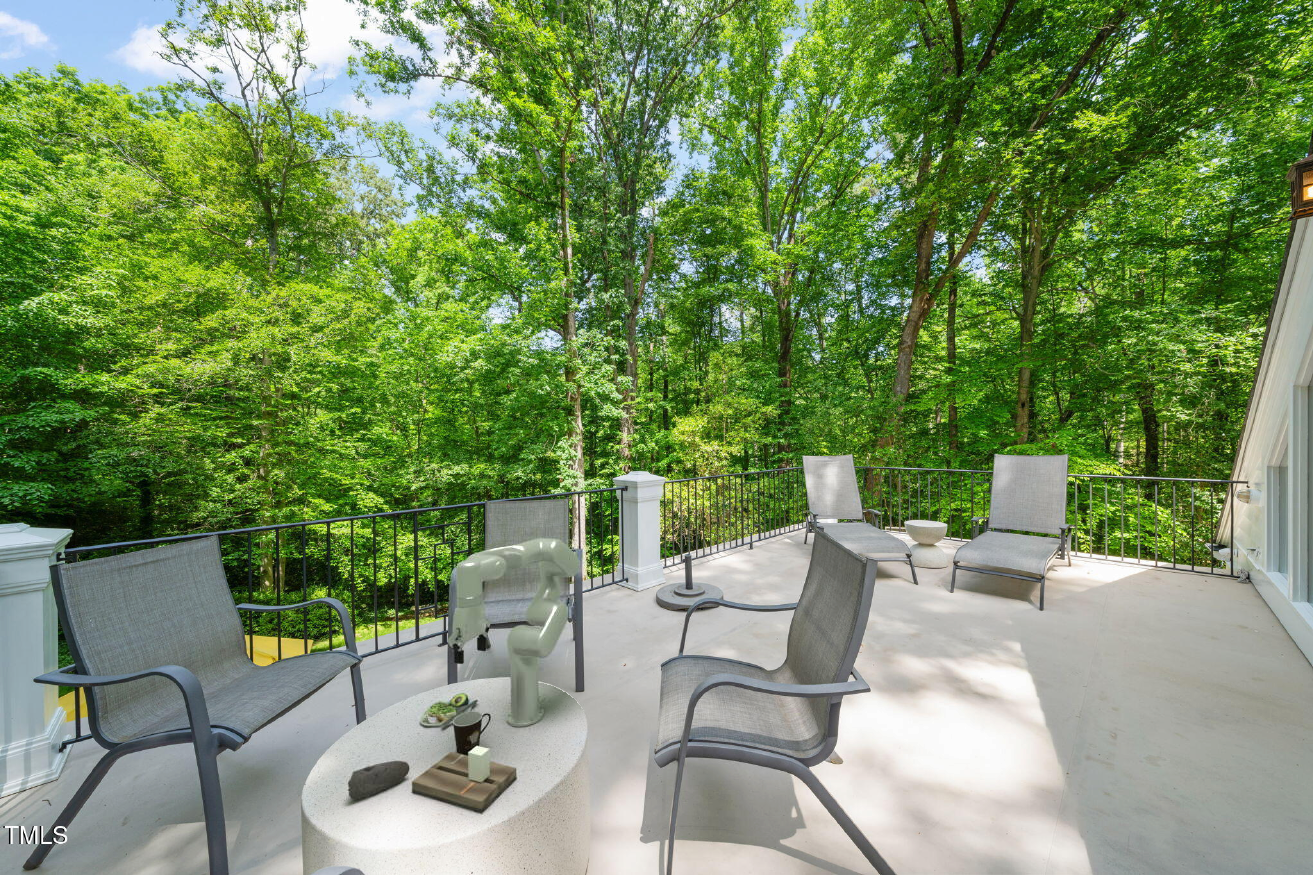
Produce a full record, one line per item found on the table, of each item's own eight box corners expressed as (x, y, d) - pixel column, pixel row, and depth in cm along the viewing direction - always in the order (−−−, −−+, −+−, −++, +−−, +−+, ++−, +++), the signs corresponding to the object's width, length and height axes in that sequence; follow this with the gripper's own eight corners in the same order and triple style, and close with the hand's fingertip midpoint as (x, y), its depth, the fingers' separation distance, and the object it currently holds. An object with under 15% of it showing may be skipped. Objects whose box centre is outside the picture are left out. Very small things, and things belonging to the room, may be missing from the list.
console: (451, 761, 142) (451, 750, 142) (516, 778, 133) (516, 767, 133) (412, 792, 129) (412, 780, 129) (481, 813, 120) (481, 800, 120)
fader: (476, 777, 132) (476, 745, 132) (489, 780, 130) (489, 748, 131) (468, 784, 129) (468, 752, 129) (481, 788, 127) (481, 755, 128)
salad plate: (467, 729, 160) (467, 715, 160) (411, 735, 157) (411, 721, 158) (480, 701, 179) (479, 688, 179) (430, 706, 177) (430, 693, 177)
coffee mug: (454, 763, 141) (454, 729, 142) (452, 748, 149) (451, 715, 149) (494, 751, 147) (494, 718, 147) (490, 737, 154) (490, 706, 155)
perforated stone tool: (408, 773, 137) (408, 749, 138) (411, 783, 133) (411, 758, 133) (347, 796, 128) (347, 770, 129) (347, 807, 124) (347, 780, 125)
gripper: (479, 592, 156) (480, 644, 155) (438, 608, 140) (439, 667, 139) (498, 593, 153) (499, 647, 153) (458, 610, 137) (459, 670, 136)
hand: (470, 656), depth 146 cm, fingers open, 9 cm apart
